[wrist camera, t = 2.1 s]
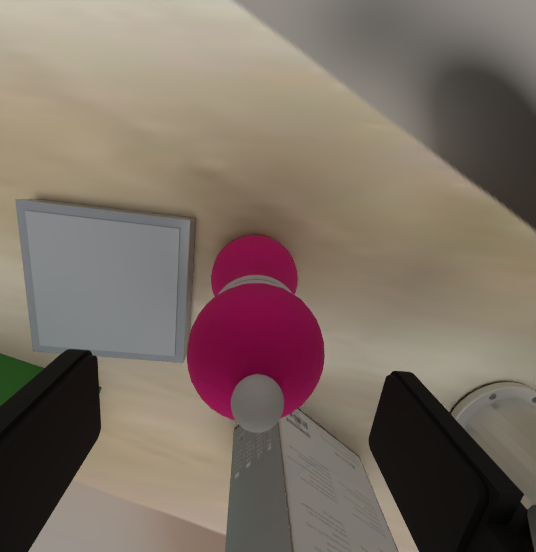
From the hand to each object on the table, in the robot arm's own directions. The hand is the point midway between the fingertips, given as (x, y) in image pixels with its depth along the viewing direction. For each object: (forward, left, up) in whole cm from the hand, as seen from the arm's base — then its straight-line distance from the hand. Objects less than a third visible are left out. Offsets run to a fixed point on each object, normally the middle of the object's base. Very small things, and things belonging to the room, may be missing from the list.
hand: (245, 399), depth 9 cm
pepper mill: (0, 0, -20) cm, 20 cm away
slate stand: (+13, +3, -19) cm, 23 cm away
